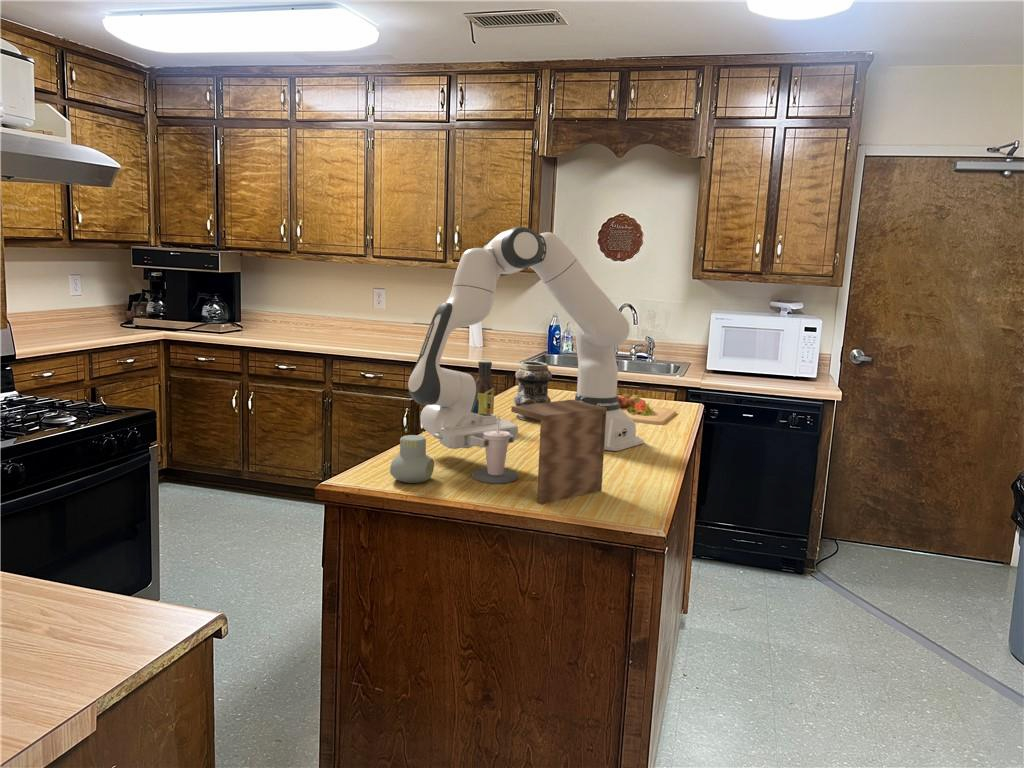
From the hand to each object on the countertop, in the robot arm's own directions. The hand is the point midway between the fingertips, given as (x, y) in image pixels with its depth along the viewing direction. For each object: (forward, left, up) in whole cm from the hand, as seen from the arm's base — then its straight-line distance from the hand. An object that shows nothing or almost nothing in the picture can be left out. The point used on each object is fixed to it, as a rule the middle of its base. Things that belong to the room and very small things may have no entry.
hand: (498, 441), depth 184 cm
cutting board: (-84, -41, -10) cm, 94 cm away
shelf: (-5, +15, -9) cm, 18 cm away
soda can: (-18, -39, -9) cm, 44 cm away
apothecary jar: (-51, -49, -9) cm, 71 cm away
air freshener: (+18, -9, -9) cm, 22 cm away
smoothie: (0, -1, -8) cm, 8 cm away
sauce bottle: (-30, -47, -9) cm, 56 cm away
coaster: (0, -1, -9) cm, 9 cm away
